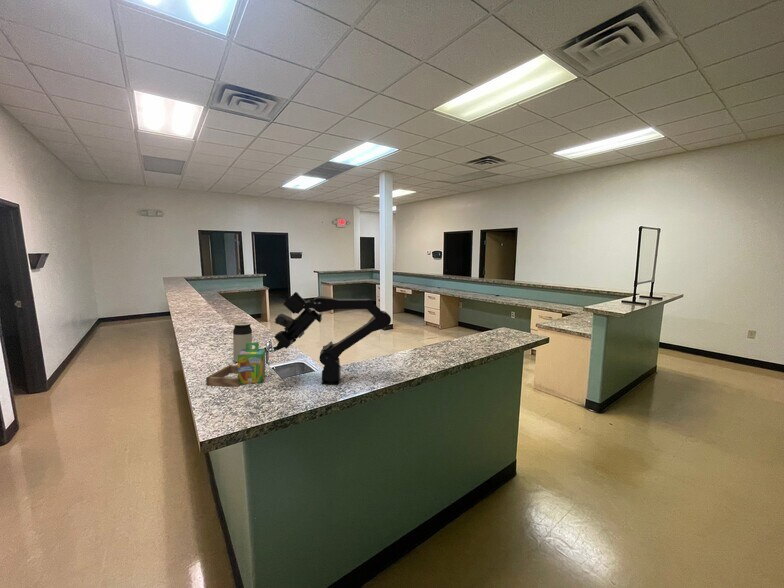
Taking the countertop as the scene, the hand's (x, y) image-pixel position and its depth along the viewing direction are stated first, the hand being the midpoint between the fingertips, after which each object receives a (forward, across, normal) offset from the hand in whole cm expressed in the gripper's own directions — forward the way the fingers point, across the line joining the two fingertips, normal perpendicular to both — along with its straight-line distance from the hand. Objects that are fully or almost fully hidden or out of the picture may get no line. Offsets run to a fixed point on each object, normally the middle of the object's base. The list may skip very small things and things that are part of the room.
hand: (276, 349), depth 124 cm
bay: (+21, 0, -4) cm, 21 cm away
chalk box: (+16, 0, +2) cm, 16 cm away
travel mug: (+27, -24, -9) cm, 38 cm away
